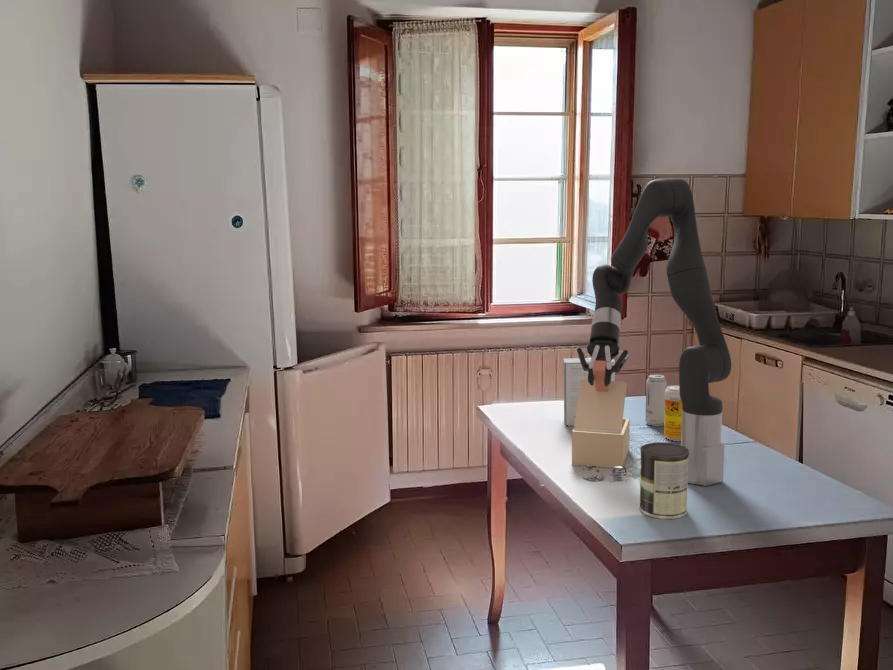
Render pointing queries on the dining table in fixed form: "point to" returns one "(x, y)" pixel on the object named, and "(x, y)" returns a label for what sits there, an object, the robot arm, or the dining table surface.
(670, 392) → the beer can
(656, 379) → the energy drink can
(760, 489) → the dining table surface
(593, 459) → the carton
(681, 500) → the coffee can
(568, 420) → the hard drive box
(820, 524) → the dining table surface
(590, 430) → the flap
